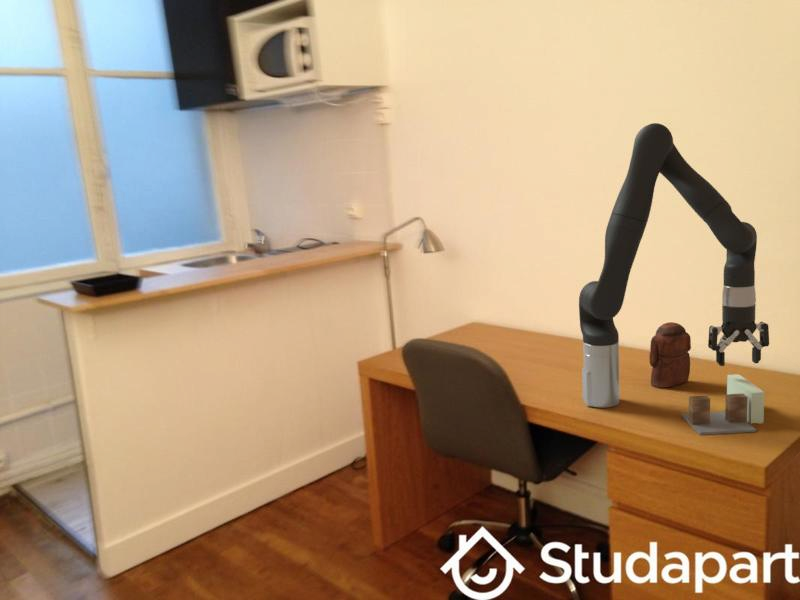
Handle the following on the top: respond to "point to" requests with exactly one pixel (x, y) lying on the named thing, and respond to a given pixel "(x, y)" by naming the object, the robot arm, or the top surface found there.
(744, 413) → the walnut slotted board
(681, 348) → the wooden figurine
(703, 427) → the charcoal base board
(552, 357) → the top surface
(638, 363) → the top surface
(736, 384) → the pale green upright slab
